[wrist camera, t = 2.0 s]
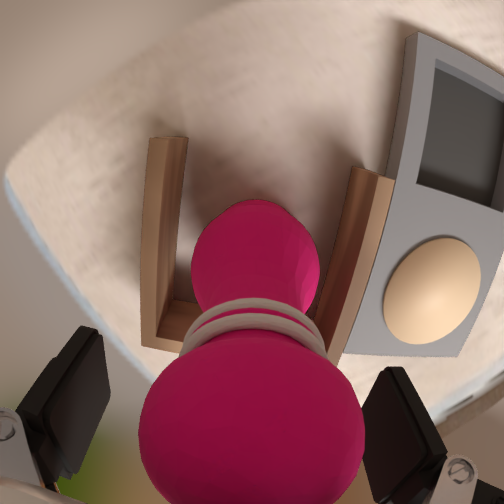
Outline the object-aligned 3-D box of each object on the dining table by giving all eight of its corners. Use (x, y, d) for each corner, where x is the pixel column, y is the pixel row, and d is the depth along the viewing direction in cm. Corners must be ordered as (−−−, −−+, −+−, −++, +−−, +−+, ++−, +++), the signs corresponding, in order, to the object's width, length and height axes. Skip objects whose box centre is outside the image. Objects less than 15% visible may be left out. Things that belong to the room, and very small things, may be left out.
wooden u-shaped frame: (365, 169, 20) (395, 180, 16) (322, 331, 25) (334, 372, 20) (173, 136, 20) (149, 137, 15) (160, 308, 24) (141, 345, 20)
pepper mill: (213, 181, 21) (5, 464, 2) (319, 204, 21) (510, 491, 3) (196, 278, 23) (100, 565, 5) (292, 297, 24) (338, 588, 5)
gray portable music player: (518, 97, 17) (535, 97, 15) (448, 344, 26) (458, 358, 23) (406, 38, 17) (420, 30, 14) (337, 338, 25) (343, 355, 23)
